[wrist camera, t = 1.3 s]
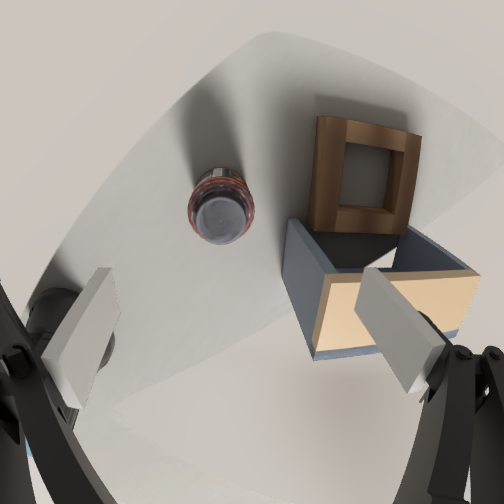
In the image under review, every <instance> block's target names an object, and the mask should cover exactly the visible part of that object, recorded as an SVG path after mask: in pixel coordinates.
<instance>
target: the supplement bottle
mask: <svg viewBox="0 0 504 504" xmlns="http://www.w3.org/2000/svg"><path fill="white" fill-rule="evenodd" d="M254 212H255V211H254V202H253V199H252V196H251V194H250V191H249V189H248V187H247V184H246V182H245V180H244V179H243V177H242V176H240V175H239V174H238V173H237V172H235V171H234V170H231V169H229V168H215V169H212V170H209V171H208V172H206V173H205V174H204V175H203V176H202V177H201V178H200V179H199V181H198V183H197V185H196V187H195V189H194V191H193V193H192V195H191V198H190V200H189V204H188V218H189V222H190V224H191V226H192V228H193V229H194V231H195V232H196V233H197V234H198V235H199V236H200V237H202V238H203V239H205V240H206V241H208V242H210V243H213V244H218V245H224V244H229V243H231V242H233V241H235V240H236V239H238V238H240V237H241V236H242V235H244V234H245V233H246V232H247V230H248V229H249V227H250V226H251V224H252V222H253V218H254Z"/></svg>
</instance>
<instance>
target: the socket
mask: <svg viewBox="0 0 504 504" xmlns="http://www.w3.org/2000/svg"><path fill="white" fill-rule="evenodd" d="M421 139H422V136H419V135H415V134H412V133H408V132H404V131H400V130H396V129H391V128H387V127H383V126H378V125H373V124H369V123H364V122H358V121H353V120H348V119H342V118H336V117H329V116H320V117H317V129H316V141H315V153H314V164H313V174H312V184H311V194H310V203H309V211H308V220H307V223H308V224H309V226H310V227H311V228H312V229H313V230H314V231H320V232H350V233H375V234H398V235H406V231H407V226H408V222H409V217H410V212H411V207H412V202H413V196H414V190H415V184H416V178H417V171H418V164H419V157H420V148H421ZM346 142H352V143H358V144H364V145H370V146H376V147H381V148H386V149H391V159H390V167H389V174H388V181H387V188H386V194H385V200H384V206H383V208H372V207H360V206H346V205H338V204H339V197H340V189H341V181H342V173H343V164H344V155H345V144H346Z"/></svg>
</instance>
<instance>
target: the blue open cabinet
mask: <svg viewBox="0 0 504 504" xmlns="http://www.w3.org/2000/svg"><path fill="white" fill-rule="evenodd" d="M377 269H378V270H379V271H380V272H381V273H382V274H383V275H384V276H385V277H386V278H387V279H388V280H389V281H390V282H391V283H392V284H393V285H394V286H395V287H396V288H397V290H398V291H399V292H400V293H401V294H402V295H403V296H404V297H405V298H406V299H407V300H408V301H409V302H410V303H411V304H412V306H413V307H414V308H415V309H416V310H417V311H421V312H422V313H424V314H425V315H427V316H428V317H429V318H430V319H431V320H432V322H433V324H435V325H436V326H437V327H438V329H440V330H441V332H442V333H443V334H444V335H445V336H446V337H447V338H448V339H450V338H454V337H455V336H456V334H457V332H458V330H459V328H460V326H461V324H462V322H463V319H464V317H465V315H466V313H467V311H468V308H469V306H470V303H471V301H472V299H473V296H474V294H475V291H476V288H477V286H478V283H479V281H480V278H481V275H480V274H478V273H477V272H476V271H474V270H473V269H472V268H470V267H469V266H468V265H466V264H465V263H464V262H462V261H461V260H460V259H458V258H457V257H456V256H454V255H453V254H451V253H450V252H448V251H447V250H446V249H444V248H443V247H441V246H440V245H439V244H437V243H436V242H434V241H433V240H431V239H430V238H428V237H427V236H425V235H424V234H422V233H421V232H419V231H418V230H416V229H415V228H413V227H412V226H410V225H408V226H407V231H406V235H400V236H399V241H398V245H397V249H396V253H395V257H394V261H393V265H392V268H377ZM363 272H364V268H335V267H334V266H333V265H332V263H331V262H330V261H329V259H328V258H327V256H326V255H325V254H324V253H323V251H322V250H321V249H320V247H319V246H318V245H317V243H316V242H315V241H314V239H313V238H312V237H311V235H310V234H309V233H308V232H307V230H306V229H305V228H304V226H303V225H302V224H301V223H300V221H299V220H298V219H294V218H288V221H287V231H286V241H285V251H284V260H283V269H282V279H283V282H284V284H285V287H286V290H287V292H288V295H289V298H290V300H291V303H292V305H293V308H294V311H295V313H296V316H297V319H298V321H299V324H300V327H301V329H302V332H303V334H304V337H305V340H306V343H307V345H308V348H309V350H310V353H311V356H312V359H313V361H317V360H327V359H336V358H344V357H353V356H360V355H367V354H374V353H380V352H381V351H380V349H379V348H378V346H377V345H376V343H375V342H374V340H373V339H372V337H371V335H370V334H369V332H368V331H367V329H366V328H365V326H364V325H363V323H362V322H361V320H360V319H359V317H358V316H357V314H356V313H355V311H354V307H355V304H356V300H357V296H358V292H359V288H360V284H361V280H362V276H363Z"/></svg>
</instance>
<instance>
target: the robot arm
mask: <svg viewBox="0 0 504 504" xmlns="http://www.w3.org/2000/svg"><path fill="white" fill-rule="evenodd" d="M0 281H1V280H0ZM354 311H355V313H356V314H357V316H358V317H359V319H360V320H361V322H362V323H363V325H364V326H365V328H366V329H367V331H368V332H369V334H370V335H371V337H372V339H373V340H374V342H375V343H376V345H377V346H378V348H379V349H380V351H381V353H382V354H383V356H384V357H385V359H386V360H387V362H388V364H389V365H390V367H391V368H392V370H393V371H394V373H395V375H396V377H397V378H398V380H399V381H400V383H401V385H402V386H403V388H404V390H405V391H406V393H407V394H409V393H412V392H415V391H419V390H420V389H421V388H422V386H423V384H424V383H425V381H426V382H427V383H428V384H429V387H428V389H427V390H426V392H425V393H424V395H423V396H422V398H421V399H420V402H419V403H421V402H422V401H423V399H424V405H423V409H422V414H421V418H420V422H419V426H418V430H417V434H416V438H415V441H414V445H413V448H412V452H411V455H410V458H409V461H408V464H407V467H406V470H405V474H404V476H403V479H402V482H401V484H400V487H399V490H398V492H397V495H396V497H395V500H394V502H393V504H470V503H469V502H468V501H465V500H464V492H465V487H466V482H467V477H468V471H469V465H470V481H471V504H504V354H503V352H502V351H501V350H500V349H499V348H497V347H494V346H487V347H486V348H485V350H484V351H483V353H482V355H475V354H473V353H472V352H471V351H470V350H469V349H468V348H467V347H464V346H461V345H453V344H452V343H451V342H450V341H449V340H448V338H447V337H446V336H445V335H444V334H443V333H442V332H441V330H440V329H438V327H437V326H436V325H435V324H433V322H432V320H431V319H430V318H429V317H428V316H427V315H425V314H424V313H422V312H421V311H417V310H416V309H415V308H414V307H413V306H412V304H411V303H410V302H409V301H408V300H407V299H406V298H405V297H404V296H403V295H402V294H401V293H400V292H399V291H398V290H397V288H396V287H395V286H394V285H393V284H392V283H391V282H390V281H389V280H388V279H387V278H386V277H385V276H384V275H383V274H382V273H381V272H380V271H379V270H378V269H377V268H364V272H363V276H362V280H361V284H360V288H359V292H358V296H357V300H356V304H355V307H354ZM119 316H120V308H119V304H118V299H117V294H116V289H115V284H114V278H113V273H112V268H98V269H97V270H96V272H95V273H94V275H93V276H92V277H91V279H90V280H89V282H88V283H87V285H86V286H85V287H84V289H83V290H82V292H81V293H80V294H78V293H76V292H73V291H71V290H67V289H62V288H53V289H49V290H46V291H44V292H43V293H42V294H41V295H40V296H39V297H38V298H37V299H36V301H35V302H34V303H33V305H32V307H31V309H30V313H29V318H28V321H27V324H26V328H25V327H24V325H23V323H22V322H21V320H20V318H19V317H18V315H17V314H16V312H15V310H14V308H13V307H12V305H11V303H10V301H9V299H8V297H7V295H6V293H5V291H4V289H3V287H2V286H1V283H0V504H36V501H35V496H34V492H33V487H32V482H31V477H30V471H29V465H28V458H27V455H29V456H31V457H33V458H34V461H35V463H36V465H37V468H38V470H39V473H40V475H41V477H42V479H43V482H44V484H45V486H46V488H47V490H48V492H49V494H50V496H51V498H52V500H53V502H54V503H55V504H117V503H116V501H115V500H114V498H113V497H112V495H111V494H110V493H109V491H108V490H107V488H106V487H105V485H104V484H103V482H102V481H101V479H100V478H99V476H98V475H97V473H96V471H95V470H94V468H93V467H92V465H91V463H90V462H89V460H88V458H87V457H86V455H85V453H84V451H83V450H82V448H81V446H80V444H79V442H78V440H77V438H76V437H75V435H74V433H73V428H74V425H75V422H76V418H77V415H78V412H79V409H81V410H84V408H85V405H86V402H87V399H88V396H89V393H90V390H91V388H92V385H93V382H94V379H95V376H96V374H97V372H98V371H99V370H100V369H101V368H102V367H104V366H105V365H106V364H107V362H108V361H109V359H110V357H111V354H112V352H113V349H114V344H115V338H114V333H113V330H114V327H115V325H116V323H117V320H118V318H119ZM488 387H489V393H488V395H487V396H486V394H485V391H486V389H487V388H488Z"/></svg>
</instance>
